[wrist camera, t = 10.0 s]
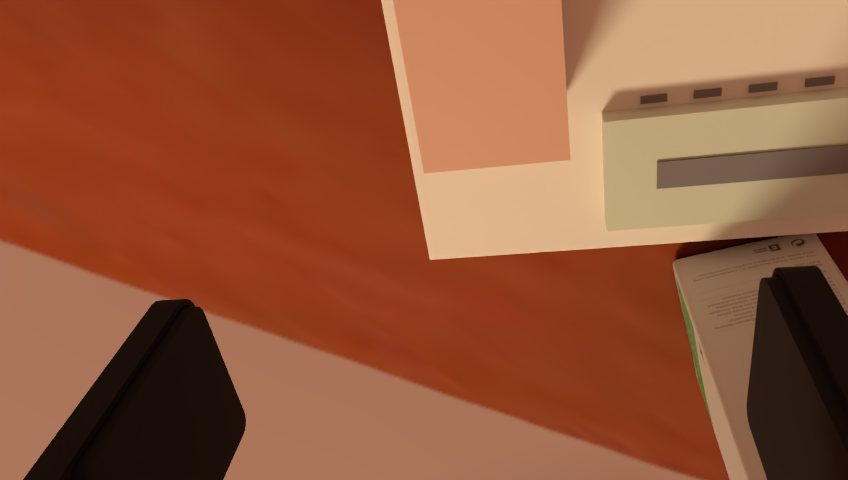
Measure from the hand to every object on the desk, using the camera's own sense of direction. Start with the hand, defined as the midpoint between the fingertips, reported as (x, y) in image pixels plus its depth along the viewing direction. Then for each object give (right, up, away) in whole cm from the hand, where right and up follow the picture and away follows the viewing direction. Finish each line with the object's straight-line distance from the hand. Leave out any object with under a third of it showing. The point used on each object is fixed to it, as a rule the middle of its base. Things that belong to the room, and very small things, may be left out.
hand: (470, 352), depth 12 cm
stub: (+2, +10, +15) cm, 18 cm away
